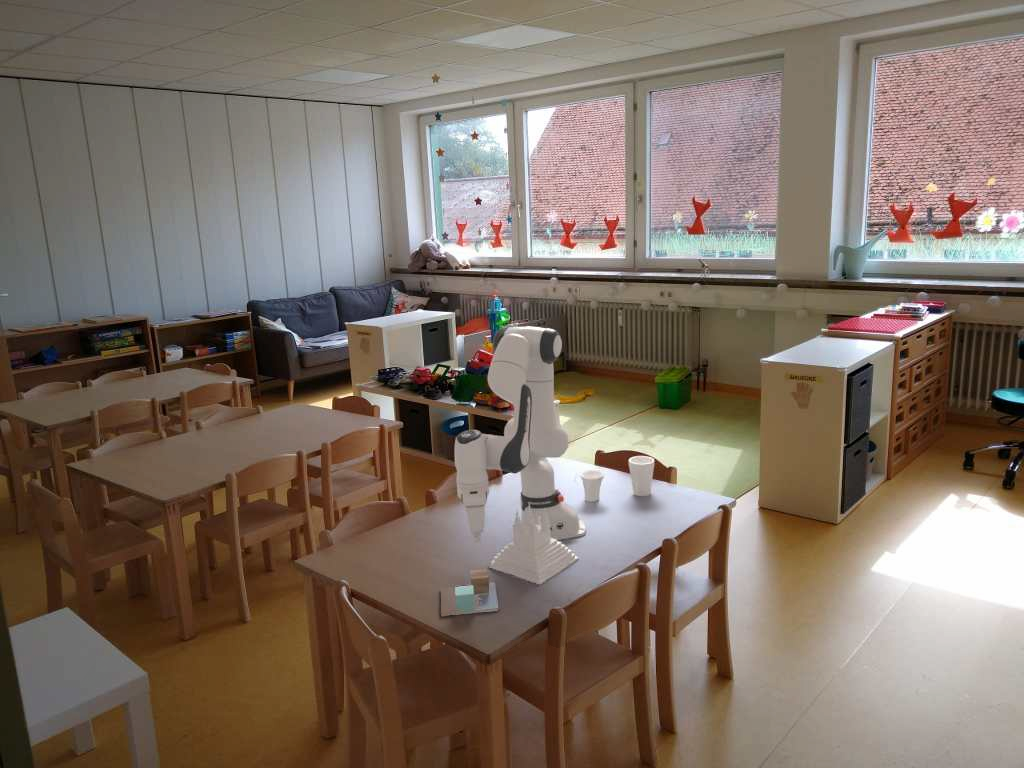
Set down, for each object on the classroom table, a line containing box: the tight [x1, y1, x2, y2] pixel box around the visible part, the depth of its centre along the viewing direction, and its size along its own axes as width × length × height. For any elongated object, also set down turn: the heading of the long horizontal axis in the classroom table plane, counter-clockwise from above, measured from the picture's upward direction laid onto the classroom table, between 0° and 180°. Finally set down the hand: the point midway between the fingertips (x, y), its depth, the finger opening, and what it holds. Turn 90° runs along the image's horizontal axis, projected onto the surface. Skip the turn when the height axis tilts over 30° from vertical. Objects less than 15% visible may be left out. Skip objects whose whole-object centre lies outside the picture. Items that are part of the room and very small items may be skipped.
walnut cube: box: [469, 568, 490, 595], centre depth 222 cm, size 5×5×5 cm
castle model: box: [490, 504, 579, 586], centre depth 237 cm, size 20×20×18 cm
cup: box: [579, 469, 605, 503], centre depth 286 cm, size 9×9×10 cm
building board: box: [475, 581, 499, 610], centre depth 219 cm, size 16×15×1 cm
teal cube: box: [455, 584, 475, 611], centre depth 214 cm, size 5×5×5 cm
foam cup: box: [628, 455, 655, 497], centre depth 289 cm, size 10×9×13 cm
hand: (476, 534), depth 219 cm, fingers open, 8 cm apart
